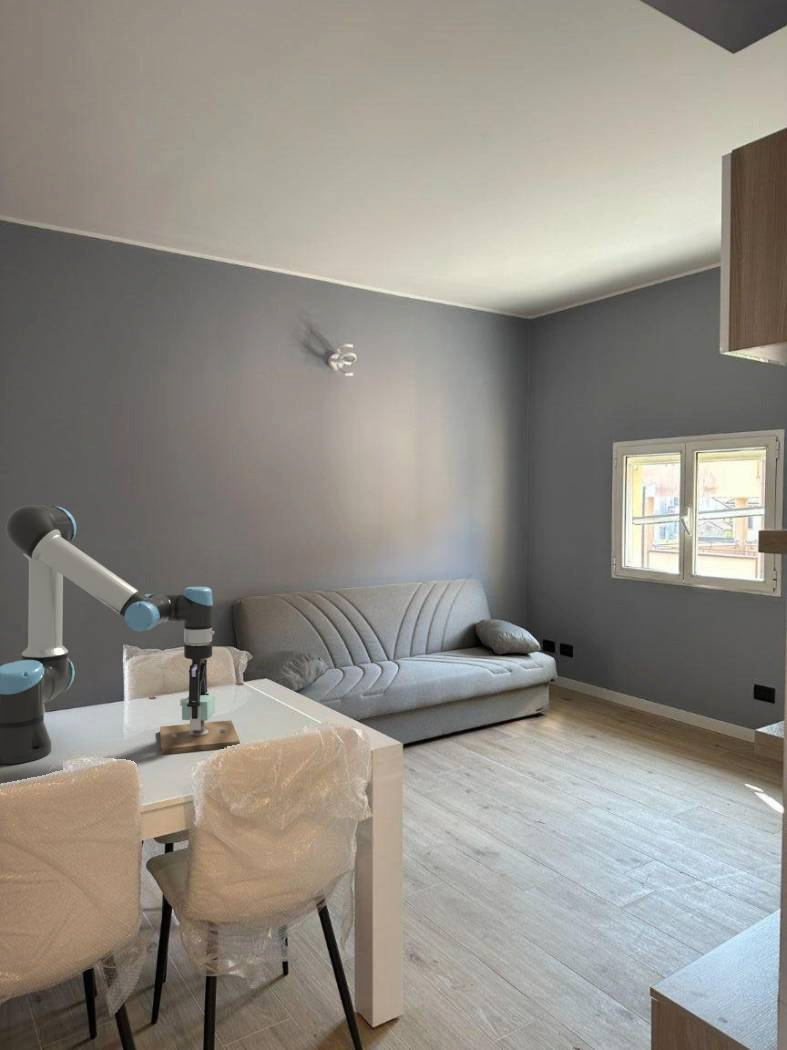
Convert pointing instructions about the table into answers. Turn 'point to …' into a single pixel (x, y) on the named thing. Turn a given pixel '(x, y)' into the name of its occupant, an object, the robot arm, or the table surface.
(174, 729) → the walnut base
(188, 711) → the cap
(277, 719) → the table surface
